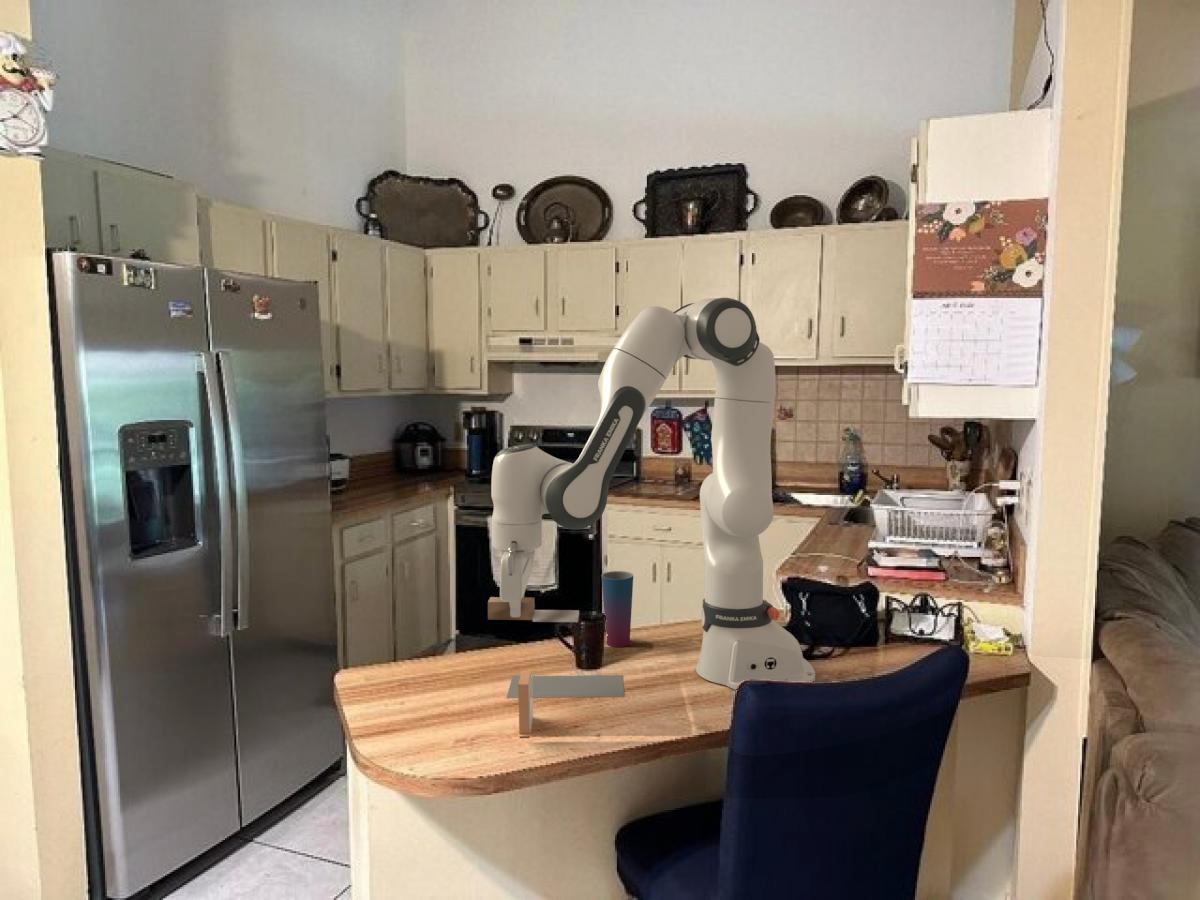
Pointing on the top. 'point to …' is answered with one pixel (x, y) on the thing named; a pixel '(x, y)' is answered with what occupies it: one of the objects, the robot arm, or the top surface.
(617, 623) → the cup
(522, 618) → the turner
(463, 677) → the top surface
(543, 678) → the rest mat
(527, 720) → the tile
